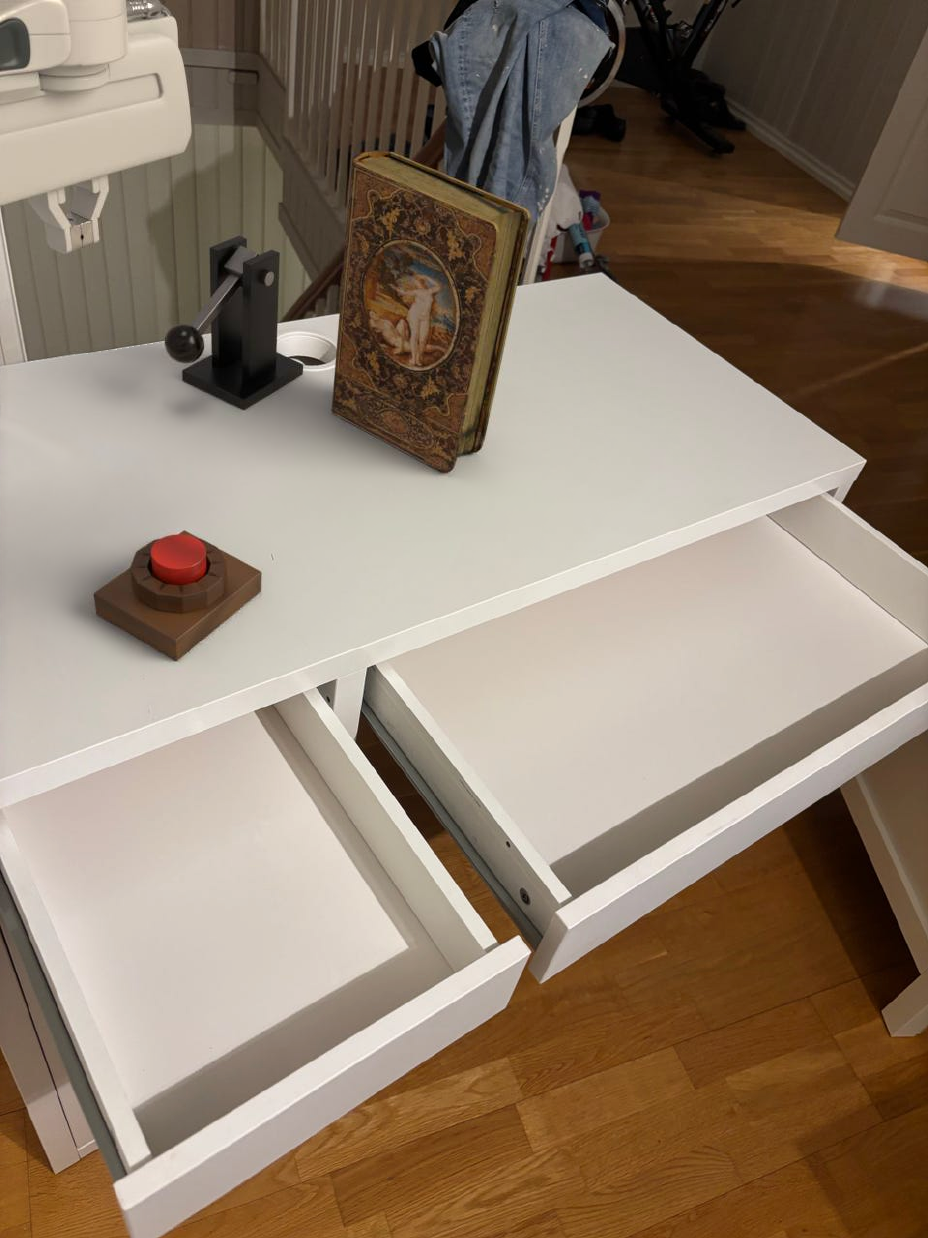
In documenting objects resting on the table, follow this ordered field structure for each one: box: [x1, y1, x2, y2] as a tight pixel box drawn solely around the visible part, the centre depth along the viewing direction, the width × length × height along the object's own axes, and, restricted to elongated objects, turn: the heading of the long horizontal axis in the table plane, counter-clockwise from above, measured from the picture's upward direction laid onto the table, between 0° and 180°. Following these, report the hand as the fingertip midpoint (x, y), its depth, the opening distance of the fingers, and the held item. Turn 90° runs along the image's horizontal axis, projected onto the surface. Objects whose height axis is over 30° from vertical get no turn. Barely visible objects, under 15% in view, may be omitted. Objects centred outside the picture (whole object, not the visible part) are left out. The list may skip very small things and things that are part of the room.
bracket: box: [181, 235, 304, 411], centre depth 95 cm, size 10×8×14 cm
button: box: [151, 533, 206, 585], centre depth 72 cm, size 4×4×2 cm
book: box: [331, 150, 531, 474], centre depth 89 cm, size 16×6×25 cm, turn 56°
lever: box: [164, 246, 260, 364], centre depth 90 cm, size 13×4×4 cm, turn 150°
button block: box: [92, 529, 263, 661], centre depth 74 cm, size 10×8×4 cm
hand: (74, 245), depth 64 cm, fingers closed
